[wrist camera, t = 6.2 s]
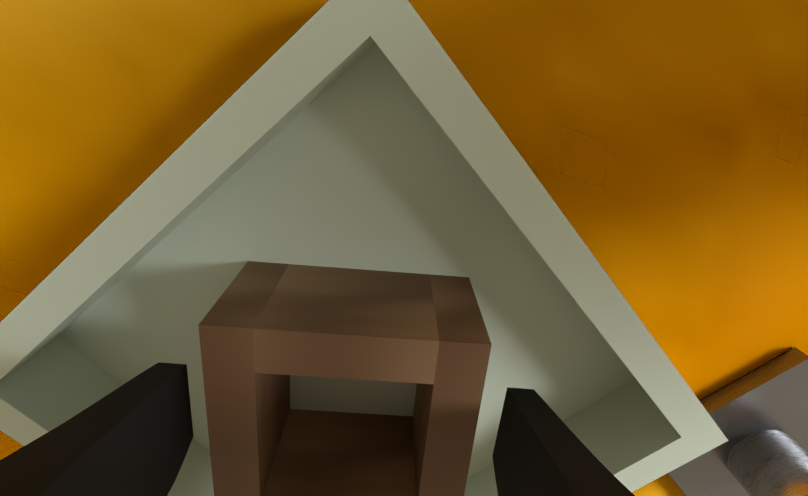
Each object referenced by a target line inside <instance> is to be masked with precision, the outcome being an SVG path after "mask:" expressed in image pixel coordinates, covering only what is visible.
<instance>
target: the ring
mask: <svg viewBox="0 0 808 496" xmlns="http://www.w3.org/2000/svg"><path fill="white" fill-rule="evenodd" d="M198 327H199V338H200V348H201V359H202V370H203V381H204V392H205V402H206V413H207V424H208V435H209V446H210V456H211V467H212V478H213V489H214V496H464V493H465V487H466V482H467V476H468V471H469V466H470V460H471V455H472V449H473V444H474V438H475V433H476V427H477V422H478V416H479V411H480V406H481V400H482V395H483V389H484V384H485V378H486V373H487V367H488V362H489V357H490V351H491V346H492V344H491V341H490V338H489V335H488V332H487V329H486V326H485V323H484V320H483V317H482V314H481V311H480V308H479V305H478V302H477V299H476V296H475V293H474V290H473V287H472V285H471V282H470V279H469V277H458V276H445V275H431V274H418V273H404V272H390V271H377V270H363V269H350V268H336V267H322V266H309V265H295V264H282V263H268V262H255V261H248V262H247V263H246V264H245V266H244V267H243V268H242V270H241V271H240V272H239V273H238V275H237V276H236V277H235V279H234V280H233V281H232V282H231V284H230V285H229V286H228V288H227V289H226V290H225V291H224V293H223V294H222V295H221V297H220V298H219V299H218V300H217V302H216V303H215V304H214V305H213V307H212V308H211V309H210V311H209V312H208V313H207V314H206V316H205V317H204V318H203V320H202V321H201V322H200V323H199V325H198ZM290 375H294V376H310V377H326V378H342V379H357V380H373V381H389V382H404V383H417V386H416V395H415V403H414V412H413V416H397V415H381V414H364V413H348V412H332V411H315V410H299V409H290Z"/></svg>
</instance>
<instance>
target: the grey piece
mask: <svg viewBox="0 0 808 496" xmlns="http://www.w3.org/2000/svg"><path fill="white" fill-rule="evenodd" d="M700 402H701V404H702V405H703V406H704V408H705V409H706V411H707V412H708V413H709V415H710V416H711V417H712V419H713V420H714V422H715V423H716V424H717V426H718V427H719V428H720V430H721V431H722V433H723V434H724V435H725V437H726V438H727V439H728V441H727V442H725V443H723V444H721V445H719V446H717V447H716V448H714V449H712V450H710V451H708V452H706V453H704V454H702V455H701V456H699V457H697V458H695V459H693V460H691V461H689V462H688V463H686V464H684V465H682V466H680V467H678V468H676V469H674V470H673V471H671V472H669V473H668V474H669V476H670V477H671V478H672V479H673V480H674V482H675V483H676V484H677V485H678V487H679V488H680V489H681V490H682V491H683V493H684V494H685V495H686V496H808V356H807V355H805V354H804V353H803V352H801V351H800V350H798V349H797V348H796V347H795V348H793V349H792V350H790V351H788V352H786V353H784V354H783V355H781V356H779V357H777V358H776V359H774V360H772V361H770V362H768V363H767V364H765V365H763V366H761V367H760V368H758V369H756V370H754V371H753V372H751V373H749V374H747V375H745V376H744V377H742V378H740V379H738V380H737V381H735V382H733V383H731V384H730V385H728V386H726V387H724V388H722V389H721V390H719V391H717V392H715V393H714V394H712V395H710V396H708V397H707V398H705V399H703V400H701V401H700Z"/></svg>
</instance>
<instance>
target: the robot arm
mask: <svg viewBox="0 0 808 496" xmlns="http://www.w3.org/2000/svg"><path fill="white" fill-rule="evenodd" d="M192 439H193V425H192V415H191V405H190V394H189V384H188V373H187V364H175V363H161V362H159V363H157V364H155V365H153V366H152V367H150V368H148V369H147V370H145V371H144V372H142V373H140V374H139V375H137V376H136V377H134V378H133V379H131V380H130V381H128V382H126V383H125V384H123V385H122V386H120V387H119V388H117V389H116V390H114V391H113V392H111V393H110V394H108V395H106V396H105V397H103V398H102V399H100V400H99V401H97V402H96V403H94V404H92V405H91V406H89V407H88V408H86V409H85V410H83V411H81V412H80V413H78V414H77V415H75V416H74V417H72V418H71V419H69V420H67V421H66V422H64V423H63V424H61V425H59V426H58V427H56V428H54V429H53V430H51V431H49V432H47V433H46V434H44V435H42V436H41V437H39V438H37V439H36V440H34V441H32V442H31V443H29V444H27V445H26V446H24V447H22V448H20V449H19V450H17V451H15V452H14V453H12V454H10V455H9V456H7V457H5V458H4V459H2V460H0V496H167V495H168V493H169V491H170V490H171V488H172V486H173V484H174V482H175V480H176V478H177V475H178V473H179V471H180V468H181V466H182V464H183V461H184V459H185V456H186V454H187V451H188V449H189V446H190V444H191V441H192ZM492 457H493V464H494V472H495V479H496V486H497V492H498V496H635V495H634V494H633V493H631V492H630V491H629V490H628V489H627V488H626V487H625V486H624V485H623V484H622V483H621V482H620V481H619V480H618V479H617V478H616V477H615V476H614V475H613V474H612V473H611V472H610V471H609V470H608V469H607V468H606V467H605V466H604V465H603V464H602V463H601V462H600V461H599V460H598V459H597V458H596V457H595V456H594V455H593V454H592V453H591V452H590V450H589V449H588V448H587V447H586V446H585V445H584V444H583V443H582V442H581V441H580V440H579V439H578V438H577V437H576V435H575V434H574V433H573V432H572V431H571V430H570V429H569V428H568V427H567V426H566V424H565V423H564V422H563V421H562V420H561V419H560V418H559V417H558V416H557V414H556V413H555V412H554V411H553V410H552V409H551V408H550V407H549V406H548V404H547V403H546V402H545V401H544V400H543V399H542V398H541V397H540V396H539V394H538V393H537V392H536V391H535V390H534V389H523V388H509V387H507V391H506V395H505V400H504V405H503V409H502V414H501V418H500V423H499V427H498V432H497V437H496V441H495V446H494V450H493V455H492Z"/></svg>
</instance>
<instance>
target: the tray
mask: <svg viewBox="0 0 808 496" xmlns="http://www.w3.org/2000/svg"><path fill="white" fill-rule="evenodd" d="M248 261H255V262H268V263H282V264H295V265H309V266H322V267H336V268H350V269H363V270H377V271H390V272H404V273H418V274H431V275H445V276H458V277H469V279H470V282H471V285H472V287H473V290H474V293H475V296H476V299H477V302H478V305H479V308H480V311H481V314H482V317H483V320H484V323H485V326H486V329H487V332H488V335H489V338H490V341H491V344H492V346H491V351H490V357H489V362H488V367H487V373H486V378H485V384H484V389H483V395H482V400H481V406H480V411H479V416H478V422H477V427H476V433H475V438H474V444H473V449H472V455H471V460H470V466H469V471H468V476H467V482H466V487H465V493H464V496H498V492H497V486H496V479H495V472H494V464H493V457H492V455H493V450H494V446H495V441H496V437H497V432H498V427H499V423H500V418H501V414H502V409H503V405H504V400H505V395H506V391H507V387H509V388H523V389H534V390H535V391H536V392H537V393H538V394H539V396H540V397H541V398H542V399H543V400H544V401H545V402H546V403H547V404H548V406H549V407H550V408H551V409H552V410H553V411H554V412H555V413H556V414H557V416H558V417H559V418H560V419H561V420H562V421H563V422H564V423H565V424H566V426H567V427H568V428H569V429H570V430H571V431H572V432H573V433H574V434H575V435H576V437H577V438H578V439H579V440H580V441H581V442H582V443H583V444H584V445H585V446H586V447H587V448H588V449H589V450H590V452H591V453H592V454H593V455H594V456H595V457H596V458H597V459H598V460H599V461H600V462H601V463H602V464H603V465H604V466H605V467H606V468H607V469H608V470H609V471H610V472H611V473H612V474H613V475H614V476H615V477H616V478H617V479H618V480H619V481H620V482H621V483H622V484H623V485H624V486H625V487H626V488H627V489H628V490H629V491H630V492H633V491H635V490H637V489H639V488H641V487H643V486H645V485H646V484H648V483H650V482H652V481H654V480H656V479H658V478H659V477H661V476H663V475H665V474H667V473H669V472H671V471H673V470H674V469H676V468H678V467H680V466H682V465H684V464H686V463H688V462H689V461H691V460H693V459H695V458H697V457H699V456H701V455H702V454H704V453H706V452H708V451H710V450H712V449H714V448H716V447H717V446H719V445H721V444H723V443H725V442H727V441H728V439H727V438H726V437H725V435H724V434H723V433H722V431H721V430H720V428H719V427H718V426H717V424H716V423H715V422H714V420H713V419H712V417H711V416H710V415H709V413H708V412H707V411H706V409H705V408H704V406H703V405H702V404H701V402H700V401H699V400H698V398H697V397H696V395H695V394H694V393H693V391H692V390H691V389H690V387H689V386H688V384H687V383H686V382H685V380H684V379H683V378H682V376H681V375H680V373H679V372H678V371H677V369H676V368H675V367H674V365H673V364H672V362H671V361H670V360H669V358H668V357H667V356H666V354H665V353H664V351H663V350H662V349H661V347H660V346H659V345H658V343H657V342H656V340H655V339H654V338H653V336H652V335H651V334H650V332H649V331H648V329H647V328H646V327H645V325H644V324H643V323H642V321H641V320H640V318H639V317H638V316H637V314H636V313H635V312H634V310H633V309H632V307H631V306H630V305H629V303H628V302H627V301H626V299H625V298H624V296H623V295H622V294H621V292H620V291H619V290H618V288H617V287H616V285H615V284H614V283H613V281H612V280H611V279H610V277H609V276H608V274H607V273H606V272H605V270H604V269H603V268H602V266H601V265H600V263H599V262H598V261H597V259H596V258H595V257H594V255H593V254H592V252H591V251H590V250H589V248H588V247H587V246H586V244H585V243H584V241H583V240H582V239H581V237H580V236H579V235H578V233H577V232H576V230H575V229H574V228H573V226H572V225H571V224H570V222H569V221H568V219H567V218H566V217H565V215H564V214H563V213H562V211H561V210H560V208H559V207H558V206H557V204H556V203H555V202H554V200H553V199H552V197H551V196H550V195H549V193H548V192H547V191H546V189H545V188H544V186H543V185H542V184H541V182H540V181H539V180H538V178H537V177H536V175H535V174H534V173H533V171H532V170H531V169H530V167H529V166H528V164H527V163H526V162H525V160H524V159H523V158H522V156H521V155H520V153H519V152H518V151H517V149H516V148H515V147H514V145H513V144H512V142H511V141H510V140H509V138H508V137H507V136H506V134H505V133H504V131H503V130H502V129H501V127H500V126H499V125H498V123H497V122H496V120H495V119H494V118H493V116H492V115H491V114H490V112H489V111H488V109H487V108H486V107H485V105H484V104H483V103H482V101H481V100H480V98H479V97H478V96H477V94H476V93H475V92H474V90H473V89H472V87H471V86H470V85H469V83H468V82H467V81H466V79H465V78H464V76H463V75H462V74H461V72H460V71H459V70H458V68H457V67H456V65H455V64H454V63H453V61H452V60H451V59H450V57H449V56H448V54H447V53H446V52H445V50H444V49H443V48H442V46H441V45H440V43H439V42H438V41H437V39H436V38H435V37H434V35H433V34H432V32H431V31H430V30H429V28H428V27H427V26H426V24H425V23H424V21H423V20H422V19H421V17H420V16H419V15H418V13H417V12H416V10H415V9H414V8H413V6H412V5H411V4H410V2H409V1H408V0H329V1H328V2H327V3H326V4H325V5H324V6H323V7H322V8H321V9H320V10H319V11H318V12H317V13H315V14H314V15H313V16H312V17H311V18H310V19H309V20H308V21H307V22H306V23H305V24H304V25H303V26H302V27H301V28H300V29H299V30H298V31H297V32H296V33H295V34H294V35H293V36H292V37H291V38H290V39H289V40H288V41H287V42H286V43H285V44H284V45H283V46H282V47H281V48H280V49H279V50H278V51H277V52H276V53H275V54H274V55H273V56H272V57H271V58H270V59H269V60H268V61H267V62H265V63H264V64H263V65H262V66H261V67H260V68H259V69H258V70H257V71H256V72H255V73H254V74H253V75H252V76H251V77H250V78H249V79H248V80H247V81H246V82H245V83H244V84H243V85H242V86H241V87H240V88H239V89H238V90H237V91H236V92H235V93H234V94H233V95H232V96H231V97H230V98H229V99H228V100H227V101H226V102H225V103H224V104H223V105H222V106H221V107H220V108H219V109H218V110H217V111H215V112H214V113H213V114H212V115H211V116H210V117H209V118H208V119H207V120H206V121H205V122H204V123H203V124H202V125H201V126H200V127H199V128H198V129H197V130H196V131H195V132H194V133H193V134H192V135H191V136H190V137H189V138H188V139H187V140H186V141H185V142H184V143H183V144H182V145H181V146H180V147H179V148H178V149H177V150H176V151H175V152H174V153H173V154H172V155H171V156H170V157H169V158H168V159H167V160H165V161H164V162H163V163H162V164H161V165H160V166H159V167H158V168H157V169H156V170H155V171H154V172H153V173H152V174H151V175H150V176H149V177H148V178H147V179H146V180H145V181H144V182H143V183H142V184H141V185H140V186H139V187H138V188H137V189H136V190H135V191H134V192H133V193H132V194H131V195H130V196H129V197H128V198H127V199H126V200H125V201H124V202H123V203H122V204H121V205H120V206H119V207H118V208H117V209H115V210H114V211H113V212H112V213H111V214H110V215H109V216H108V217H107V218H106V219H105V220H104V221H103V222H102V223H101V224H100V225H99V226H98V227H97V228H96V229H95V230H94V231H93V232H92V233H91V234H90V235H89V236H88V237H87V238H86V239H85V240H84V241H83V242H82V243H81V244H80V245H79V246H78V247H77V248H76V249H75V250H74V251H73V252H72V253H71V254H70V255H69V256H68V257H67V258H65V259H64V260H63V261H62V262H61V263H60V264H59V265H58V266H57V267H56V268H55V269H54V270H53V271H52V272H51V273H50V274H49V275H48V276H47V277H46V278H45V279H44V280H43V281H42V282H41V283H40V284H39V285H38V286H37V287H36V288H35V289H34V290H33V291H32V292H31V293H30V294H29V295H28V296H27V297H26V298H25V299H24V300H23V301H22V302H21V303H20V304H19V305H18V306H17V307H15V308H14V309H13V310H12V311H11V312H10V313H9V314H8V315H7V316H6V317H5V318H4V319H3V320H2V321H1V322H0V431H2V432H3V433H5V434H6V435H8V436H9V437H11V438H12V439H14V440H15V441H17V442H18V443H20V444H21V445H23V446H26V445H27V444H29V443H31V442H32V441H34V440H36V439H37V438H39V437H41V436H42V435H44V434H46V433H47V432H49V431H51V430H53V429H54V428H56V427H58V426H59V425H61V424H63V423H64V422H66V421H67V420H69V419H71V418H72V417H74V416H75V415H77V414H78V413H80V412H81V411H83V410H85V409H86V408H88V407H89V406H91V405H92V404H94V403H96V402H97V401H99V400H100V399H102V398H103V397H105V396H106V395H108V394H110V393H111V392H113V391H114V390H116V389H117V388H119V387H120V386H122V385H123V384H125V383H126V382H128V381H130V380H131V379H133V378H134V377H136V376H137V375H139V374H140V373H142V372H144V371H145V370H147V369H148V368H150V367H152V366H153V365H155V364H157V363H159V362H161V363H175V364H187V373H188V384H189V394H190V405H191V415H192V425H193V439H192V441H191V444H190V446H189V449H188V451H187V454H186V456H185V459H184V461H183V464H182V466H181V468H180V471H179V473H178V475H177V478H176V480H175V482H174V484H173V486H172V488H171V490H170V491H169V493H168V495H167V496H214V489H213V478H212V467H211V456H210V446H209V435H208V424H207V413H206V402H205V392H204V381H203V370H202V359H201V348H200V338H199V327H198V325H199V323H200V322H201V321H202V320H203V318H204V317H205V316H206V314H207V313H208V312H209V311H210V309H211V308H212V307H213V305H214V304H215V303H216V302H217V300H218V299H219V298H220V297H221V295H222V294H223V293H224V291H225V290H226V289H227V288H228V286H229V285H230V284H231V282H232V281H233V280H234V279H235V277H236V276H237V275H238V273H239V272H240V271H241V270H242V268H243V267H244V266H245V264H246V263H247V262H248ZM416 386H417V383H404V382H389V381H373V380H357V379H342V378H326V377H310V376H294V375H290V409H299V410H315V411H332V412H348V413H364V414H381V415H397V416H413V412H414V403H415V395H416Z"/></svg>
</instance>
